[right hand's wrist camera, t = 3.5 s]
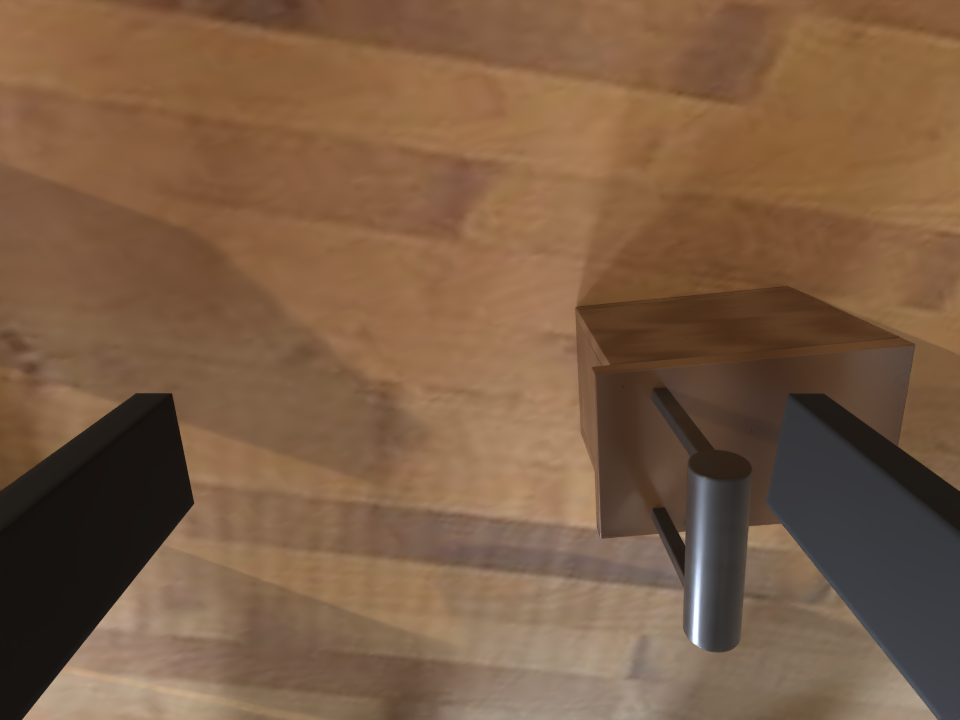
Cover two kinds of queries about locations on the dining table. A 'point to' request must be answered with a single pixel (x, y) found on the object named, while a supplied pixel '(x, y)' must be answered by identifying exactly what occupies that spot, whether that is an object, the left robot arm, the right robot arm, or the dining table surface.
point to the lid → (720, 454)
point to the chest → (705, 331)
